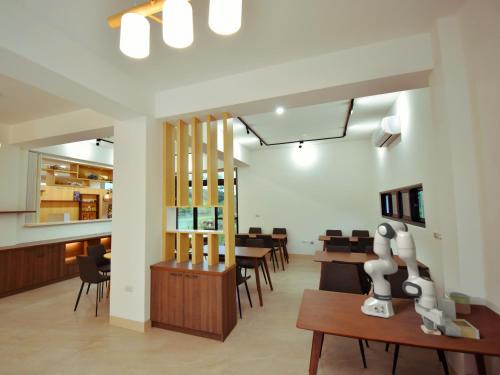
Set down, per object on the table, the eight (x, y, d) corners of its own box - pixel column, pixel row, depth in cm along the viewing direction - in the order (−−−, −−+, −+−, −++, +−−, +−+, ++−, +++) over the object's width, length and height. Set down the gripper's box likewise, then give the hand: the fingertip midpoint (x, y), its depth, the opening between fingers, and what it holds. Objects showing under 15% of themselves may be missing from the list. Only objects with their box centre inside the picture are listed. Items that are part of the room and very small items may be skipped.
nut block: (427, 329, 149) (427, 321, 149) (424, 325, 153) (423, 317, 154) (436, 330, 147) (436, 322, 148) (433, 326, 152) (432, 318, 153)
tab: (425, 333, 148) (425, 330, 148) (421, 328, 155) (420, 324, 155) (440, 335, 146) (440, 331, 146) (435, 329, 153) (435, 326, 153)
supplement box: (456, 320, 164) (455, 301, 165) (444, 319, 165) (443, 301, 166) (450, 315, 171) (448, 297, 172) (438, 315, 172) (437, 297, 173)
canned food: (450, 307, 185) (448, 291, 186) (469, 310, 179) (467, 294, 180) (451, 312, 176) (450, 295, 177) (472, 316, 170) (470, 299, 171)
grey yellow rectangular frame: (446, 335, 145) (445, 326, 146) (435, 324, 159) (434, 316, 159) (479, 339, 141) (478, 330, 141) (465, 327, 155) (464, 319, 155)
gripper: (447, 310, 141) (449, 334, 140) (421, 297, 162) (422, 318, 161) (437, 310, 141) (439, 334, 140) (412, 297, 161) (413, 318, 160)
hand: (430, 325), depth 150 cm, fingers closed on nut block, 6 cm apart
